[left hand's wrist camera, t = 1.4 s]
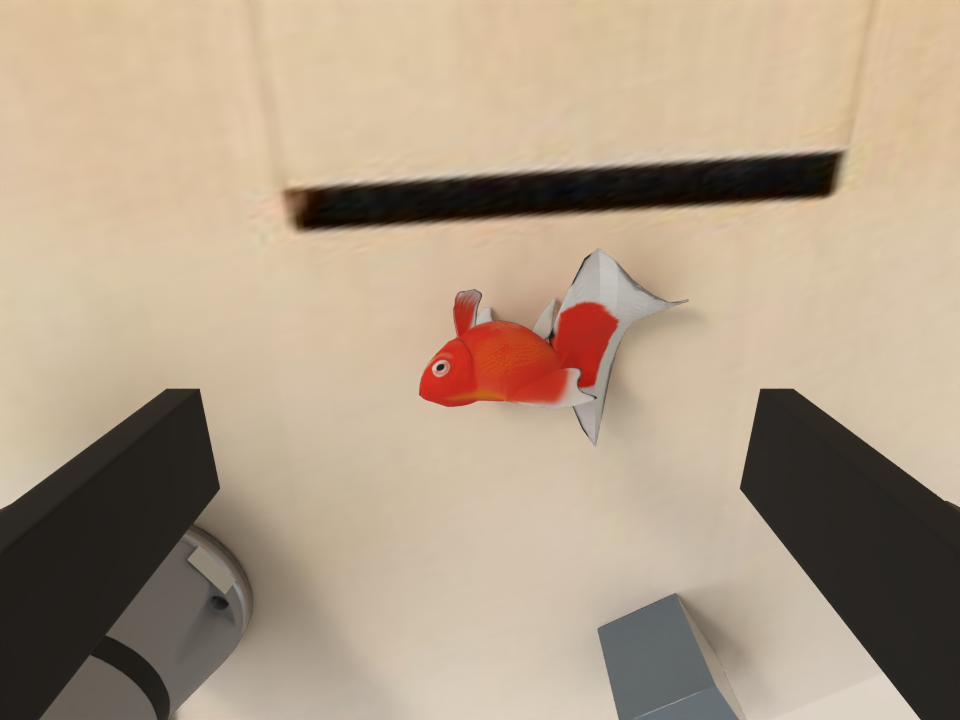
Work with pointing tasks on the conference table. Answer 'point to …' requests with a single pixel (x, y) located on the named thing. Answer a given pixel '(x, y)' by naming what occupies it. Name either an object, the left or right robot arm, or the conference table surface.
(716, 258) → the conference table surface
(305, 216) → the conference table surface
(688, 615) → the cube
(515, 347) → the fish
